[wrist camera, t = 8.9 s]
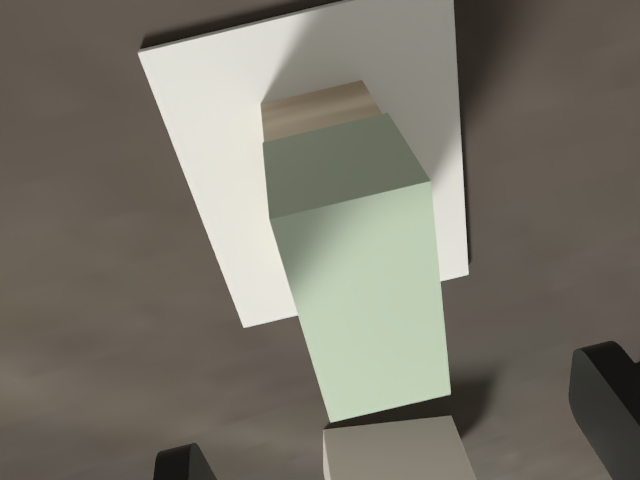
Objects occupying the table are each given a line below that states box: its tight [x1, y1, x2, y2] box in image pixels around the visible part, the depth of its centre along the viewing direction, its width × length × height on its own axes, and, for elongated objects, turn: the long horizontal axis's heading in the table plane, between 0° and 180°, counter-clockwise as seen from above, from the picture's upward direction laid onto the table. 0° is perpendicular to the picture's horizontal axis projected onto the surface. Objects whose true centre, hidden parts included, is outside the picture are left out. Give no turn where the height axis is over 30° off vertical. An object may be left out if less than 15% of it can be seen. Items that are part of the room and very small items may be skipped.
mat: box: [138, 0, 469, 328], centre depth 21 cm, size 12×10×1 cm
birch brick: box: [260, 80, 382, 142], centre depth 19 cm, size 7×4×4 cm, turn 11°
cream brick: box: [323, 416, 476, 480], centre depth 29 cm, size 7×4×4 cm, turn 90°
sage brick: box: [262, 113, 451, 422], centre depth 15 cm, size 7×4×4 cm, turn 11°
